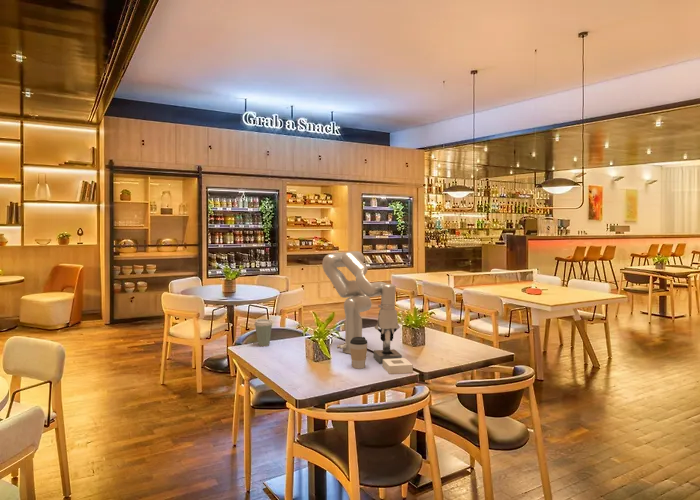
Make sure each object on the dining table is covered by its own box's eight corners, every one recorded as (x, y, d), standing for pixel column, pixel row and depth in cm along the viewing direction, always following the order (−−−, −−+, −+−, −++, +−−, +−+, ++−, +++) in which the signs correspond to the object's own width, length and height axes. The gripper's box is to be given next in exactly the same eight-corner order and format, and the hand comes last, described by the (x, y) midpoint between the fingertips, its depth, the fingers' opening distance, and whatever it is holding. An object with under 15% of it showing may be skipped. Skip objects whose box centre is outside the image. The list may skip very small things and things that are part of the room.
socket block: (389, 374, 239) (389, 366, 239) (382, 366, 251) (382, 359, 251) (412, 372, 242) (412, 364, 242) (404, 365, 254) (404, 357, 253)
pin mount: (379, 364, 256) (379, 356, 256) (373, 357, 267) (373, 350, 267) (401, 362, 258) (401, 355, 258) (394, 356, 270) (394, 349, 270)
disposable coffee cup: (276, 344, 292) (276, 319, 292) (263, 348, 283) (263, 323, 282) (263, 342, 298) (262, 317, 297) (250, 345, 289) (250, 320, 288)
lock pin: (384, 352, 261) (384, 330, 260) (381, 349, 265) (382, 328, 264) (391, 351, 262) (391, 329, 261) (388, 349, 265) (389, 328, 265)
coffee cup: (354, 370, 245) (355, 340, 244) (346, 365, 253) (346, 336, 252) (370, 367, 249) (370, 338, 248) (361, 363, 257) (362, 334, 256)
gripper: (374, 308, 256) (373, 343, 257) (405, 308, 259) (403, 341, 261) (371, 305, 263) (370, 339, 264) (400, 305, 267) (399, 338, 268)
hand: (386, 340), depth 263 cm, fingers closed on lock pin, 4 cm apart
